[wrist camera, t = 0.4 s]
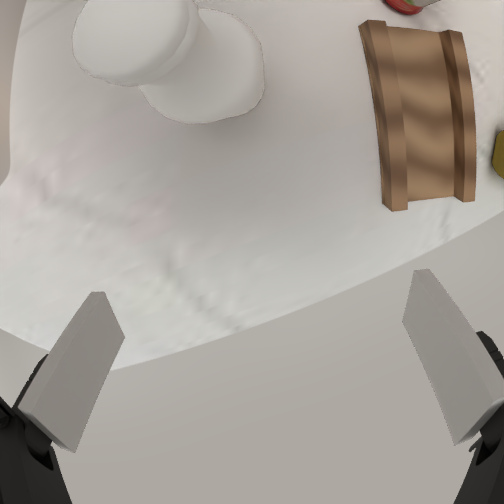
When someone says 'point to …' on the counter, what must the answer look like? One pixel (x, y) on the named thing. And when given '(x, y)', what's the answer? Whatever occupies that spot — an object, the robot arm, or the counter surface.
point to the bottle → (173, 56)
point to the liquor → (410, 5)
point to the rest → (421, 113)
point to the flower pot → (499, 155)
